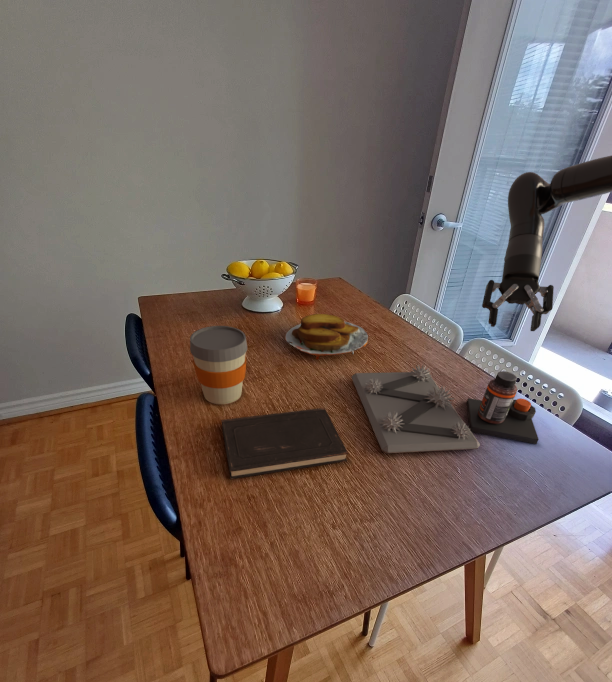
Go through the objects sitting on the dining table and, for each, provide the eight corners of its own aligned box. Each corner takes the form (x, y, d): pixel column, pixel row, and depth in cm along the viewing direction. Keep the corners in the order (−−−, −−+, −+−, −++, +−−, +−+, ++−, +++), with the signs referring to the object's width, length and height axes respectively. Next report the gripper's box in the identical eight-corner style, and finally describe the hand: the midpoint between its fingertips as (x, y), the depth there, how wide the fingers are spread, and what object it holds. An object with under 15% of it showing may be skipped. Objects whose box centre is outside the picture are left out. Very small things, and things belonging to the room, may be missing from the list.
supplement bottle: (475, 407, 95) (490, 366, 88) (501, 412, 94) (518, 370, 87) (478, 422, 90) (495, 380, 83) (506, 427, 89) (525, 384, 82)
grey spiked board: (349, 379, 105) (353, 355, 101) (427, 377, 108) (433, 354, 103) (382, 457, 81) (388, 430, 77) (480, 452, 84) (491, 426, 80)
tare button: (526, 405, 94) (529, 399, 93) (529, 413, 92) (532, 407, 91) (512, 403, 95) (515, 397, 94) (514, 410, 92) (517, 404, 91)
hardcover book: (346, 461, 79) (348, 452, 78) (230, 479, 74) (229, 470, 72) (323, 414, 92) (323, 406, 90) (221, 426, 86) (221, 418, 85)
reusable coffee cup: (255, 403, 94) (254, 345, 85) (201, 413, 89) (194, 354, 81) (241, 376, 103) (238, 322, 94) (192, 384, 99) (184, 328, 90)
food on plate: (327, 372, 107) (329, 350, 103) (268, 339, 121) (268, 319, 117) (384, 345, 122) (387, 325, 118) (325, 318, 136) (327, 300, 132)
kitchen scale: (527, 412, 97) (532, 402, 95) (539, 444, 87) (544, 434, 85) (466, 401, 99) (469, 391, 98) (470, 431, 89) (474, 421, 88)
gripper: (494, 250, 90) (484, 319, 88) (563, 254, 87) (554, 326, 85) (485, 265, 97) (476, 329, 96) (549, 270, 94) (541, 336, 93)
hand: (513, 328), depth 90 cm, fingers open, 8 cm apart
